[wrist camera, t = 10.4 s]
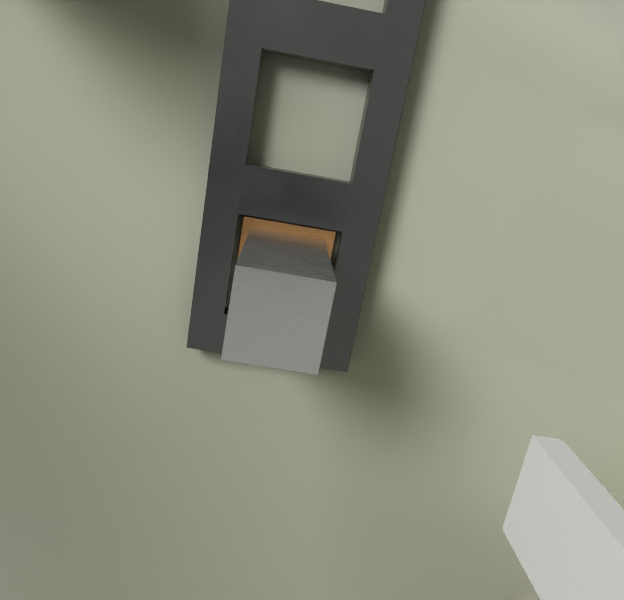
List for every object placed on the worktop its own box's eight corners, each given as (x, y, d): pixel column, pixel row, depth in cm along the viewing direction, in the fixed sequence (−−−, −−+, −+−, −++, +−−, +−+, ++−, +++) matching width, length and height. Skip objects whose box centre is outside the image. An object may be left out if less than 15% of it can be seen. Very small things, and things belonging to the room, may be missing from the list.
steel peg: (240, 297, 32) (220, 359, 23) (251, 226, 31) (235, 265, 22) (311, 309, 32) (317, 375, 24) (324, 239, 31) (336, 282, 23)
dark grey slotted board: (190, 339, 33) (186, 347, 32) (258, -202, 26) (257, -218, 24) (345, 363, 34) (347, 371, 32) (453, -157, 26) (461, -170, 25)
